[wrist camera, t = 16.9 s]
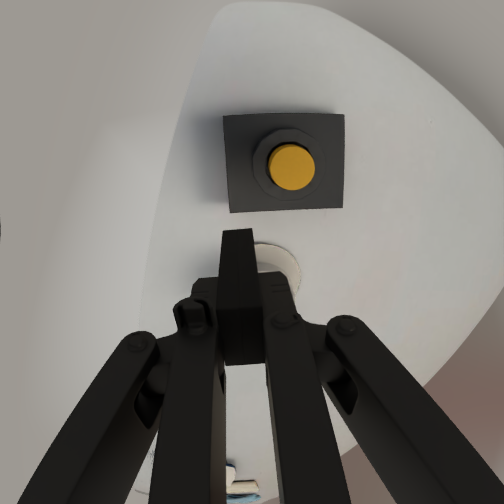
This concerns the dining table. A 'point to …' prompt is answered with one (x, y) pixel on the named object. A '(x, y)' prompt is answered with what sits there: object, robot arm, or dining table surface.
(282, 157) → the yellow button cap
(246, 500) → the rubber gloves
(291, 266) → the teacup
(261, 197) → the yellow button cap base
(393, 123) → the dining table surface
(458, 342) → the dining table surface
